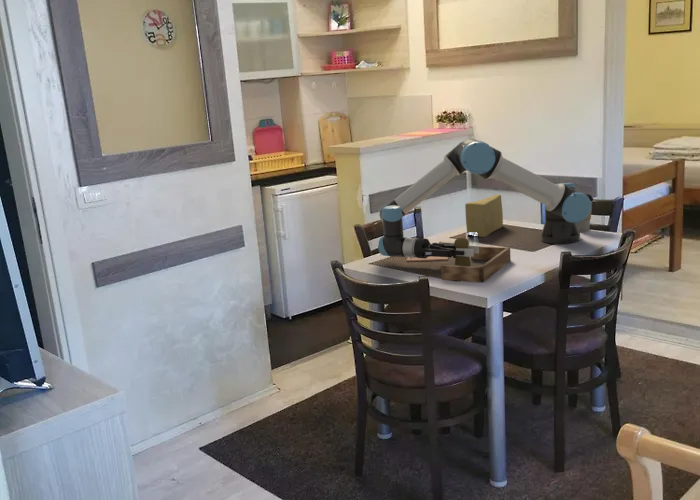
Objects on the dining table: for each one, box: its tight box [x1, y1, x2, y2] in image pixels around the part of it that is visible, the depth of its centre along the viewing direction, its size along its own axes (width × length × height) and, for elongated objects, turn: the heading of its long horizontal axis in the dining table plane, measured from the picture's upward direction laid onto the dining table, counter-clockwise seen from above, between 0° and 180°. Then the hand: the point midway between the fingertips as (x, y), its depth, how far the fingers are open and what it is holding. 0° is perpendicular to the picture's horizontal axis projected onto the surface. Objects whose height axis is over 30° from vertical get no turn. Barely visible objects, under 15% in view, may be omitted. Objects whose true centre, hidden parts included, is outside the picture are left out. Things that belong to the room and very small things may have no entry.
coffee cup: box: [576, 193, 594, 233], centre depth 289 cm, size 9×9×15 cm
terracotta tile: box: [405, 256, 449, 263], centre depth 273 cm, size 16×16×1 cm
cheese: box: [464, 194, 504, 238], centre depth 303 cm, size 22×10×15 cm, turn 138°
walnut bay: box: [440, 245, 511, 283], centre depth 247 cm, size 15×28×5 cm, turn 148°
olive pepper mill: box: [453, 237, 472, 267], centre depth 248 cm, size 6×6×11 cm
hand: (475, 251), depth 245 cm, fingers closed on olive pepper mill, 4 cm apart
